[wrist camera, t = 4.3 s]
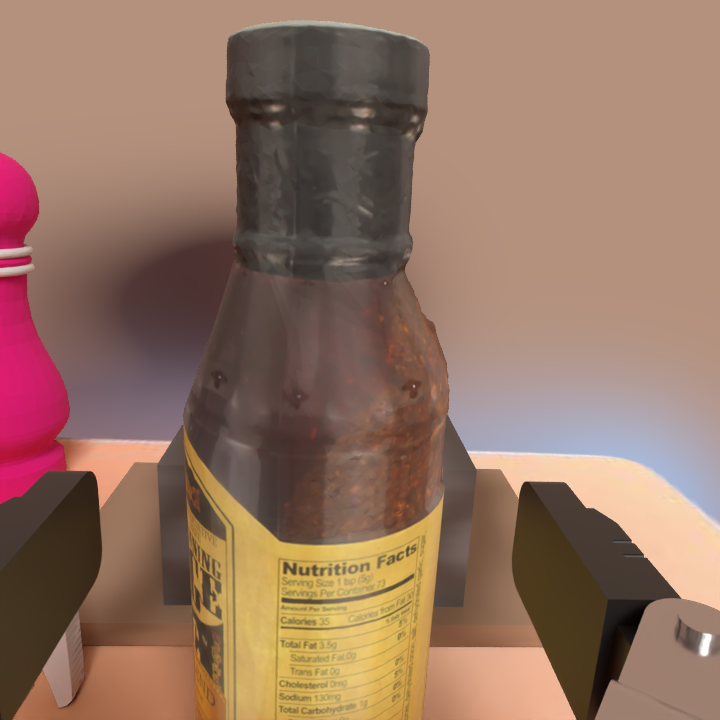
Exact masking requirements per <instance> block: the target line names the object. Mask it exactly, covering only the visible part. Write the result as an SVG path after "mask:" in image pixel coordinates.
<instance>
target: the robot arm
mask: <svg viewBox="0 0 720 720" xmlns="http://www.w3.org/2000/svg"><path fill="white" fill-rule="evenodd" d="M631 541H632V540H631V539H630V538H629V537H628V535H627V534H626V533H625V532H624V531H623V530H622V528H621V527H620V526H619V525H618V524H617V523H616V522H614V521H613V520H611V519H610V518H608V517H607V516H605V515H603V514H602V513H600V512H599V511H597V510H596V509H594V508H586V507H585V506H584V505H583V504H582V502H581V501H580V500H579V499H578V497H577V496H576V495H575V494H574V492H573V491H572V490H571V489H570V487H569V486H568V485H567V484H566V483H564V482H524V483H523V485H522V487H521V490H520V495H519V503H518V511H517V519H516V527H515V535H514V542H513V550H512V572H513V579H514V583H515V587H516V589H517V591H518V594H519V596H520V598H521V600H522V602H523V604H524V607H525V609H526V611H527V613H528V615H529V617H530V620H531V622H532V624H533V626H534V628H535V630H536V633H537V635H538V637H539V639H540V641H541V643H542V646H543V648H544V650H545V652H546V654H547V656H548V659H549V661H550V663H551V665H552V667H553V669H554V672H555V674H556V676H557V678H558V680H559V683H560V685H561V687H562V689H563V691H564V693H565V696H566V698H567V700H568V702H569V704H570V706H571V709H572V711H573V713H574V715H575V717H576V719H577V720H720V611H719V610H716V609H714V608H712V607H709V606H707V605H704V604H701V603H698V602H694V601H690V600H685V599H681V597H680V596H679V595H678V594H677V593H676V592H675V590H674V589H673V588H672V587H671V586H670V585H669V583H668V582H667V581H666V580H665V579H664V577H663V576H662V575H661V574H660V573H659V572H658V570H657V569H656V568H655V567H654V566H653V565H652V563H651V562H650V561H649V560H648V559H647V558H644V554H643V553H642V552H641V551H640V549H639V548H638V547H637V546H636V545H635V544H634V543H632V542H631ZM101 560H102V537H101V524H100V511H99V498H98V485H97V480H96V477H95V475H94V473H93V472H91V471H47V472H46V473H45V474H44V475H43V476H42V477H41V478H40V479H39V480H38V481H37V482H36V483H35V484H34V485H33V486H32V487H30V488H29V489H28V490H27V491H26V492H25V493H24V494H23V495H22V496H21V497H13V498H11V499H9V500H7V501H5V502H3V503H1V504H0V720H12V719H13V717H14V716H15V714H16V712H17V711H18V709H19V707H20V706H21V704H22V702H23V701H24V699H25V697H26V696H27V694H28V693H29V691H30V689H31V688H32V686H33V684H34V683H35V681H36V679H37V678H38V676H39V674H40V673H41V671H42V669H43V668H44V666H45V664H46V663H47V661H48V659H49V658H50V656H51V654H52V653H53V651H54V649H55V648H56V646H57V645H58V643H59V641H60V640H61V638H62V636H63V635H64V633H65V631H66V630H67V628H68V626H69V625H70V623H71V621H72V620H73V618H74V616H75V615H76V613H77V611H78V610H79V608H80V606H81V605H82V603H83V601H84V600H85V598H86V597H87V595H88V593H89V592H90V590H91V588H92V587H93V585H94V583H95V581H96V579H97V577H98V574H99V570H100V566H101Z"/></svg>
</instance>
